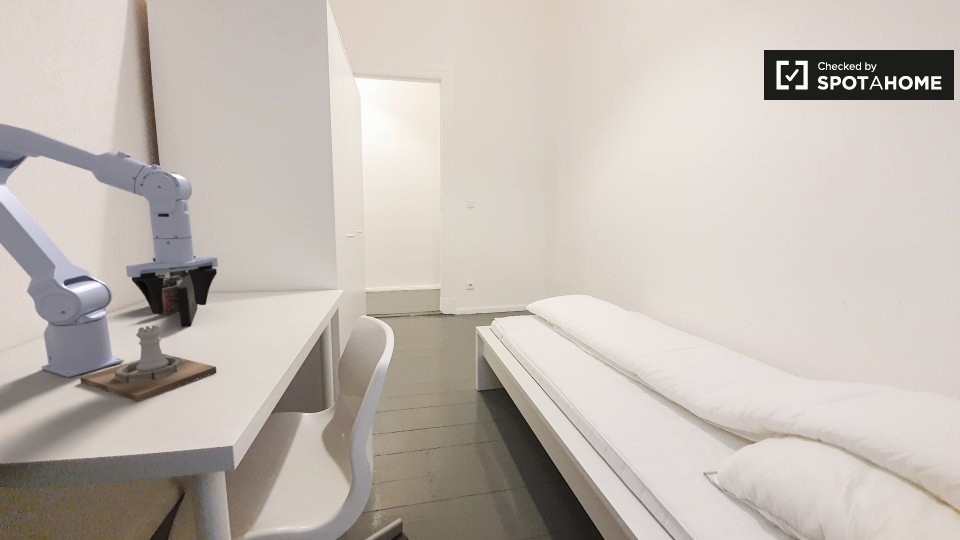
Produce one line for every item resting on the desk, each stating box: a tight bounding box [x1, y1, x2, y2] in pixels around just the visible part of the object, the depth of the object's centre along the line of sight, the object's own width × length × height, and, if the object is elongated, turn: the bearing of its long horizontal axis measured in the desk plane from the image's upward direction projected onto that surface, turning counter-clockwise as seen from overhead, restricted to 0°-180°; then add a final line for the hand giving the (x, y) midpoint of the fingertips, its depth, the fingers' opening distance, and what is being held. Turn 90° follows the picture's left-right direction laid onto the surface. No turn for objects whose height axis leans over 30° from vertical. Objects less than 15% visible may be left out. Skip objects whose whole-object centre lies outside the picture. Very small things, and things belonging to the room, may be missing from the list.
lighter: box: [158, 276, 180, 317], centre depth 109 cm, size 8×3×10 cm, turn 179°
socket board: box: [79, 353, 217, 403], centre depth 68 cm, size 16×12×2 cm
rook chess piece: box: [135, 325, 169, 373], centre depth 67 cm, size 4×4×8 cm
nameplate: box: [177, 275, 198, 328], centre depth 105 cm, size 21×2×10 cm, turn 32°
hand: (180, 308), depth 75 cm, fingers open, 7 cm apart
